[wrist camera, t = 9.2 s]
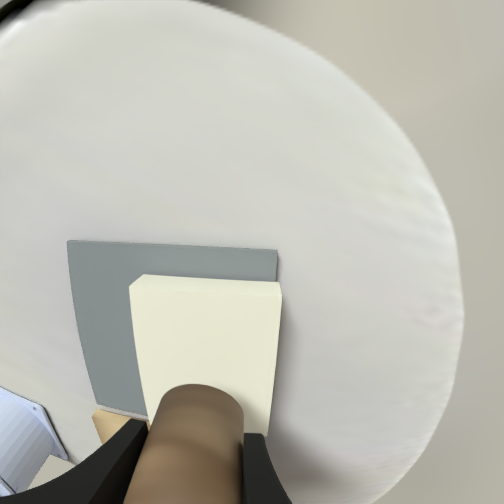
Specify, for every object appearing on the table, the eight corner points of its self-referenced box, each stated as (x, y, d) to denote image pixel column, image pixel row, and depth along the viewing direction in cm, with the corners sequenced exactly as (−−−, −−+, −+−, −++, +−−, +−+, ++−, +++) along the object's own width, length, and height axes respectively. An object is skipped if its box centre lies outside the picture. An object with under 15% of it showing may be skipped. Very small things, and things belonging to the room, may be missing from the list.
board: (116, 460, 19) (113, 468, 18) (96, 408, 18) (91, 416, 17) (214, 478, 19) (213, 487, 18) (211, 429, 18) (209, 439, 17)
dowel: (167, 439, 11) (134, 564, 4) (151, 381, 11) (89, 526, 4) (245, 442, 11) (244, 578, 4) (242, 384, 11) (237, 552, 4)
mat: (99, 400, 18) (97, 403, 17) (70, 240, 15) (66, 241, 15) (262, 423, 18) (262, 427, 17) (277, 249, 15) (277, 251, 15)
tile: (150, 424, 15) (267, 436, 15) (128, 286, 13) (282, 296, 13) (159, 402, 17) (266, 412, 17) (145, 272, 15) (278, 280, 15)
